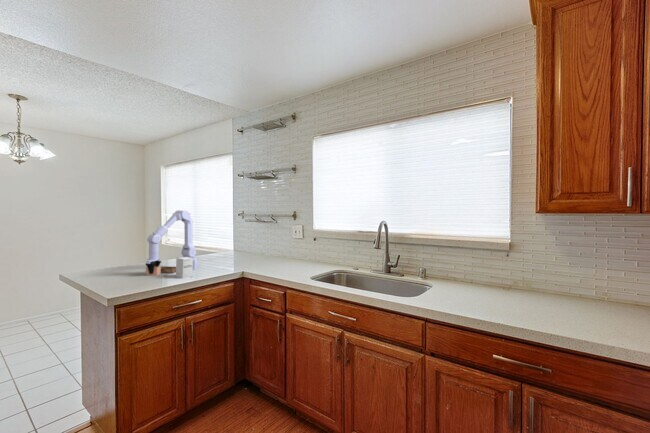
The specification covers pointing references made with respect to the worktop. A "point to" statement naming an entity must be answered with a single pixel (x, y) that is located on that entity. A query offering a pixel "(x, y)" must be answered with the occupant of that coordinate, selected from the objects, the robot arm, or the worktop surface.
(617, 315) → the worktop surface
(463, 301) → the worktop surface
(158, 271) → the terracotta crate
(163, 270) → the walnut crate
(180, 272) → the supplement box
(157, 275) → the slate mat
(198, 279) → the worktop surface
